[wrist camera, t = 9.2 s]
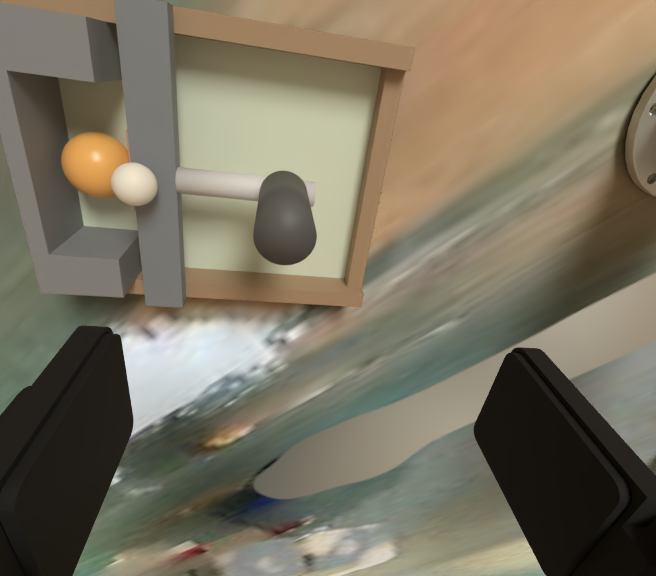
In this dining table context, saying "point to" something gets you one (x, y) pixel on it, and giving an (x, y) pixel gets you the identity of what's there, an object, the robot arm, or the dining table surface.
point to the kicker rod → (172, 180)
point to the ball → (93, 162)
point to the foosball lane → (200, 146)
